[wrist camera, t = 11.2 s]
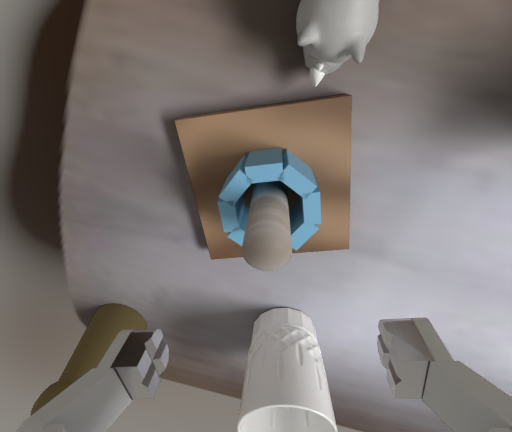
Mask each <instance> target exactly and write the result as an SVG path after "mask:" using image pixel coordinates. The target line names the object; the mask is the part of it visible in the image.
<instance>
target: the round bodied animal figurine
mask: <svg viewBox="0 0 512 432" xmlns="http://www.w3.org/2000/svg"><path fill="white" fill-rule="evenodd" d="M378 3H379V0H301V1H300V4H299V7H298V11H297V17H296V30H297V34H298V38H297V44H298V45H299V46H303V52H304V58H305V65H306V67H308V68H310V81H311V84H312V86H314V87H316V86H317V85H318V84H319V82H320V81H321V80H322V78H323V77H324V75H329V74H331V73H332V72H333V71H335V70H337V69H338V68H339V67H340V66H341V65H342V64H343V62H345V61H346V60H348V59H349V58H351V57H352V58H353V59H354V61H355V62H356V63H361V62H362V60H363V57H364V53H365V46H366V45H367V44H368V42H369V41H370V39H371V37H372V35H373V33H374V31H375V28H376V25H377V22H378Z"/></svg>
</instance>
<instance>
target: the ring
mask: <svg viewBox="0 0 512 432" xmlns="http://www.w3.org/2000/svg"><path fill="white" fill-rule="evenodd" d="M279 180H280V181H282V182H283V183H284V184H286V185H287V186H288V187H290V188H291V189H292V190H294V191H295V192H296V193H298V194H299V195H300V200H299V201H298V202H297V204H296V205H295V206H294V207H293V208H292V209H291V210H290V211H289V219H290V231H291V242H292V248H293V249H295V250H296V251H297V250H298V249H299V248H300V247H301V246H302V245H303V244H304V243H305V242H306V241H307V240H308V239H309V238H310V237H311V236H312V235H313V234H314V233H315V232H316V231H317V230H318V229H319V226H318V224H321V202H320V190H319V187H318V184H317V182H316V179H315V176H314V173H313V172H312V169H311V168H310V167H309V166H308V165H306V164H305V163H304V162H303V161H301V160H300V159H299V158H298V157H296V156H295V155H294V154H293V153H291V152H290V151H289V150H288V149H286V151H285V152H284V153H283V154H282V148H273V149H265V150H257V151H250V152H249V155H248V156H247V155H244V156H243V157H242V159H241V160H240V161H239V163H238V164H237V165H236V167H235V168H234V169H233V171H232V172H231V173H230V175H229V176H228V177H227V179H226V182H225V184H224V186H223V188H222V190H221V193H220V195H219V200H218V202H217V203H218V207H219V212H220V216H221V221H222V225H223V230H224V232H229V233H228V236H227V237H228V238H230V239H232V240H233V241H235V242H236V243H238V244H239V245H241V246H242V245H243V239H244V234H245V229H246V224H247V219H248V213H249V208H248V207H247V206H245V205H244V199H243V193H244V192H245V190H246V189H247V188H248V187H249V186H250V184H251V183H260V182H270V181H279Z"/></svg>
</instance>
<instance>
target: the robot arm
mask: <svg viewBox="0 0 512 432" xmlns="http://www.w3.org/2000/svg"><path fill="white" fill-rule="evenodd" d="M378 328H379V331H380V333H381V334H380V335H379V336H378V342H377V344H378V352H379V355H380V359H381V362H382V365H383V366H384V367H385V368H386V369H387V370H388V372H387V379H388V382H389V385H390V388H391V391H392V393H393V396H394V398H415V399H422V400H423V401H424V402H425V403H426V404H427V406H428V407H429V408H430V409H431V410H432V411H433V412H434V413H435V414H436V415H437V416H438V417H439V418H440V419H441V420H442V421H443V422H444V423H445V424H446V425H447V426H448V427H449V428H450V429H451V430H452V431H453V432H512V397H510V396H509V395H507V394H506V393H504V392H503V391H502V390H500V389H499V388H497V387H496V386H494V385H493V384H492V383H490V382H489V381H487V380H486V379H484V378H483V377H482V376H480V375H479V374H477V373H476V372H474V371H473V370H472V369H470V368H469V367H467V366H466V365H464V364H463V363H462V362H460V361H454V360H453V358H452V357H451V355H450V353H449V352H448V350H447V348H446V347H445V345H444V343H443V342H442V340H441V339H440V337H439V335H438V334H437V332H436V330H435V329H434V327H433V325H432V324H431V322H430V321H429V320H428V319H427V318H410V319H409V318H404V319H385V320H380V321H379V325H378ZM162 337H163V334H162V332H161V330H160V329H134V330H122V331H120V332H119V333H118V334H117V336H116V338H115V339H114V341H113V342H112V344H111V345H110V347H109V349H108V350H107V352H106V353H105V355H104V357H103V358H102V360H101V361H100V363H99V364H98V366H97V368H92V369H91V370H90V371H88V372H87V373H86V374H85V375H83V376H82V377H81V378H79V379H78V380H77V381H76V382H74V383H73V384H72V385H70V386H69V387H68V388H66V389H65V390H64V391H63V392H61V393H60V394H59V395H57V396H56V397H55V398H53V399H52V400H51V401H50V402H48V403H47V404H46V405H44V406H43V407H42V408H40V409H39V410H38V411H37V412H35V413H34V414H33V415H31V416H30V417H29V418H27V419H26V420H25V421H24V422H23V423H22V424H21V425H20V427H19V428H18V429H17V431H16V432H105V431H106V430H107V428H108V427H109V426H110V425H111V424H112V423H113V422H114V421H115V420H116V418H117V417H118V416H119V415H120V414H121V413H122V412H123V411H124V410H125V408H126V407H127V406H128V405H129V404H130V403H131V402H132V400H139V399H154V397H155V394H156V392H157V389H158V387H159V384H160V382H161V380H160V376H159V375H160V374H161V373H162V372H163V371H164V370H165V369H166V366H167V363H168V359H169V349H168V346H167V343H165V342H164V341H163V340H162Z"/></svg>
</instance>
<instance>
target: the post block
mask: <svg viewBox="0 0 512 432" xmlns="http://www.w3.org/2000/svg"><path fill="white" fill-rule="evenodd" d="M351 110H352V95H349V94H340V95H333V96H326V97H319V98H312V99H305V100H298V101H291V102H284V103H277V104H270V105H263V106H256V107H249V108H242V109H235V110H228V111H221V112H214V113H207V114H200V115H193V116H186V117H180V118H179V119H177V120H175V124H176V128H177V132H178V136H179V139H180V143H181V147H182V151H183V155H184V158H185V162H186V166H187V170H188V174H189V177H190V181H191V185H192V189H193V192H194V196H195V200H196V204H197V208H198V211H199V215H200V219H201V223H202V227H203V230H204V234H205V238H206V242H207V245H208V249H209V253H210V257H211V259H222V258H235V257H244V259H245V261H246V262H247V263H248V264H249V265H251V266H252V267H254V268H256V269H259V270H263V271H273V270H277V269H279V268H281V267H283V266H284V265H286V264H287V263H288V261H289V260H290V258H291V255H292V253H301V252H314V251H327V250H340V249H349V228H350V169H351ZM273 148H282V154H283V153H284V152H285V151H286V149H288V150H289V151H290V152H291V153H293V154H294V155H295V156H296V157H298V158H299V159H300V160H301V161H303V162H304V163H305V164H306V165H308V166H309V167H310V168H311V169H312V172H313V173H314V176H315V179H316V182H317V184H318V187H319V190H320V202H321V224H318V226H319V229H318V230H317V231H316V232H315V233H314V234H313V235H312V236H311V237H310V238H309V239H308V240H307V241H306V242H305V243H304V244H303V245H302V246H301V247H300V248H299V249H298V250H297V251H296V250H295V249H293V248H292V242H291V231H290V219H289V211H290V210H291V209H292V208H293V207H294V206H295V205H296V204H297V202H298V201H299V200H300V195H299V194H298V193H296V192H295V191H294V190H292V189H291V188H290V187H288V186H287V185H286V184H284V183H283V182H282V181H280V180H279V181H270V182H260V183H251V184H250V186H249V187H248V188H247V189H246V190H245V192H244V193H243V199H244V205H245V206H247V207H248V208H249V213H248V219H247V224H246V229H245V234H244V239H243V245H242V246H241V245H239V244H238V243H236V242H235V241H233V240H232V239H230V238H228V237H227V236H228V233H229V232H224V230H223V225H222V221H221V216H220V212H219V207H218V203H217V202H218V200H219V195H220V193H221V190H222V188H223V186H224V184H225V182H226V179H227V177H228V176H229V175H230V173H231V172H232V171H233V169H234V168H235V167H236V165H237V164H238V163H239V161H240V160H241V159H242V157H243V156H244V155H247V156H248V155H249V152H250V151H257V150H265V149H273Z"/></svg>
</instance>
